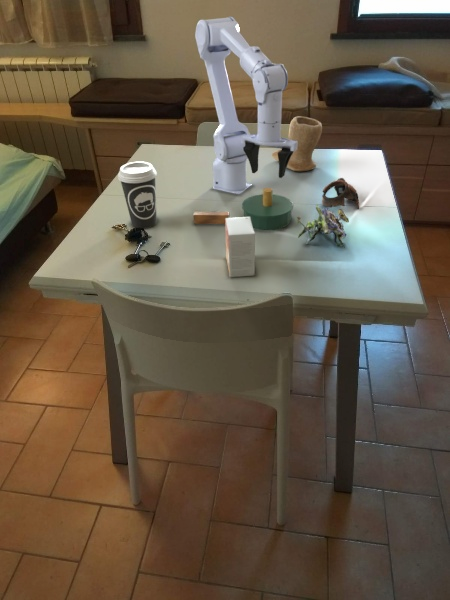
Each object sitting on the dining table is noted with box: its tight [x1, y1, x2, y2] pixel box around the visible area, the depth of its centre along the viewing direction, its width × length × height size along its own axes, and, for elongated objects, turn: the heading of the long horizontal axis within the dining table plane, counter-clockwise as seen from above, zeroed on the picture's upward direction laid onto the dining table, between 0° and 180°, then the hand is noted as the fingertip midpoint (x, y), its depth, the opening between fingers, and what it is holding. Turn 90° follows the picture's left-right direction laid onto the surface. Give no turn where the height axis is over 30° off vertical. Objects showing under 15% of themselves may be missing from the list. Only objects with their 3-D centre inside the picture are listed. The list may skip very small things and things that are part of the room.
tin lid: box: [241, 187, 294, 218], centre depth 121 cm, size 13×13×5 cm
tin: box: [242, 209, 292, 231], centre depth 124 cm, size 12×12×4 cm
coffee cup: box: [117, 161, 158, 229], centre depth 122 cm, size 10×10×15 cm
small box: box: [224, 216, 256, 278], centre depth 104 cm, size 8×6×10 cm
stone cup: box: [271, 115, 323, 172], centre depth 151 cm, size 15×12×15 cm
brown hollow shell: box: [321, 177, 360, 210], centre depth 129 cm, size 12×10×8 cm
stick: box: [193, 211, 230, 225], centre depth 124 cm, size 9×2×3 cm, turn 85°
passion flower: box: [296, 204, 350, 248], centre depth 112 cm, size 11×11×12 cm
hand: (268, 174), depth 124 cm, fingers open, 7 cm apart
